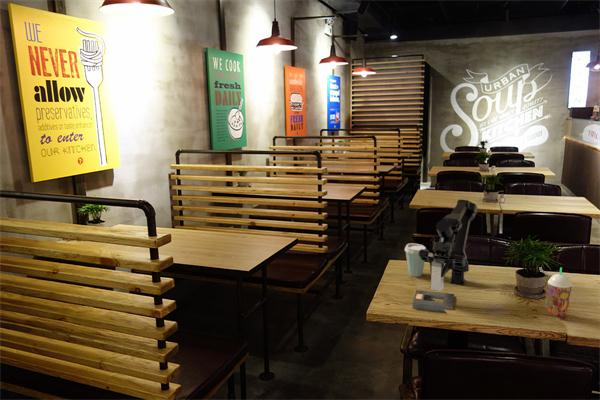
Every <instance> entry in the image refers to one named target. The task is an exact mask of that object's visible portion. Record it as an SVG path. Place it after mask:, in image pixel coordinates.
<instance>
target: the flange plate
mask: <svg viewBox="0 0 600 400" xmlns="http://www.w3.org/2000/svg"><path fill="white" fill-rule="evenodd" d="M435 299H439V300H440V299H441V300H443V302H442V301H435ZM454 299H455V294H454V293H448V292H441V291H427V290H420V289H416V290H415V294H414V297H413V301H412V309H414V310H423V311H430V312H431V311H432V312H439V313H447V311H446V310H448V311H449V310H451V311H453V310H454Z"/></svg>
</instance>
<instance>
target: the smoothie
mask: <svg viewBox="0 0 600 400" xmlns="http://www.w3.org/2000/svg"><path fill="white" fill-rule="evenodd" d="M562 270H563V267H560V268H559V273H554V274H553V275H551V276H550V278H549V279H548V280H547V304H546V305H547V308H546V309H547V310H546V311H547V312H548V313H549V314H550V315H554V316H556V317H557V318H559V319H563V318H565V317H566V316H567V315H568V310H569V304H570V303H569V302H570V296H571V292H572V287H573V284H572V282H571V280H570V278H569V277H568V276H566V275H565V274H563V273H562V272H563V271H562Z"/></svg>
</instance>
